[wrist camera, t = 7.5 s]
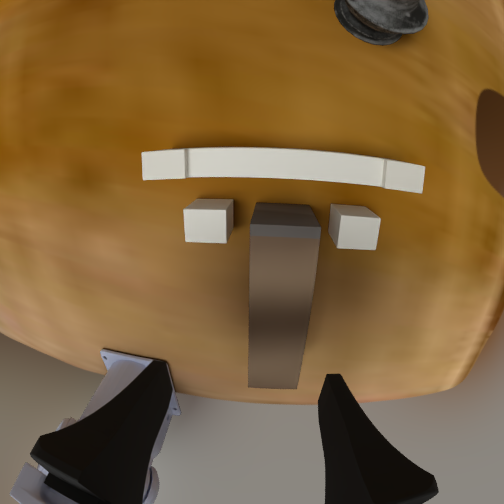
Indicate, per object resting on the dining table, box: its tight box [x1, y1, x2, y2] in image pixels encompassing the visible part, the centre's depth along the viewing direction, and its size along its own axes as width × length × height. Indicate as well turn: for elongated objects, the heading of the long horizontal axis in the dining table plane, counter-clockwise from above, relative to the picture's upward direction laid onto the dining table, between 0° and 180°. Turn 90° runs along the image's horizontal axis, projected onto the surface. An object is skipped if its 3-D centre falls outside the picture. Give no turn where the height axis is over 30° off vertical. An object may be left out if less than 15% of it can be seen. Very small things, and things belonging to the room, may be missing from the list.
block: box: [248, 203, 321, 389], centre depth 18 cm, size 12×4×5 cm, turn 179°
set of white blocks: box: [142, 147, 425, 250], centre depth 16 cm, size 6×15×4 cm, turn 89°
